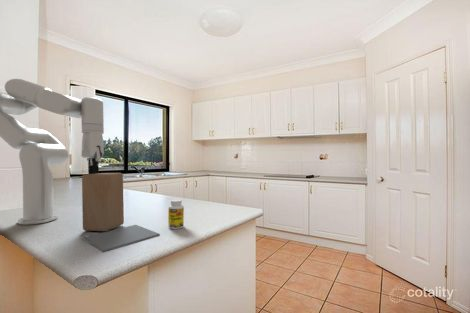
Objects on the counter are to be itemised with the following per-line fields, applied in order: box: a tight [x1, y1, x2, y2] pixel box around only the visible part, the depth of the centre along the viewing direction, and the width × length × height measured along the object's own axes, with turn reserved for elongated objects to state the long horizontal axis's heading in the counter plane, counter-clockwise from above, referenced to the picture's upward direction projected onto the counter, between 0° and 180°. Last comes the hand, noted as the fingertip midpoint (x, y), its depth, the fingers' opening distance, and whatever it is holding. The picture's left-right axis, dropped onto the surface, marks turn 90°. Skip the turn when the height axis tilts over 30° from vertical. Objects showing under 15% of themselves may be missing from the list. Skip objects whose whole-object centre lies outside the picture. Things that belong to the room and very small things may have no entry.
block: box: [81, 172, 125, 232], centre depth 88 cm, size 10×10×20 cm
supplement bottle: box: [167, 199, 185, 230], centre depth 89 cm, size 6×6×10 cm
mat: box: [82, 224, 161, 253], centre depth 79 cm, size 16×18×1 cm
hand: (93, 175), depth 94 cm, fingers closed
